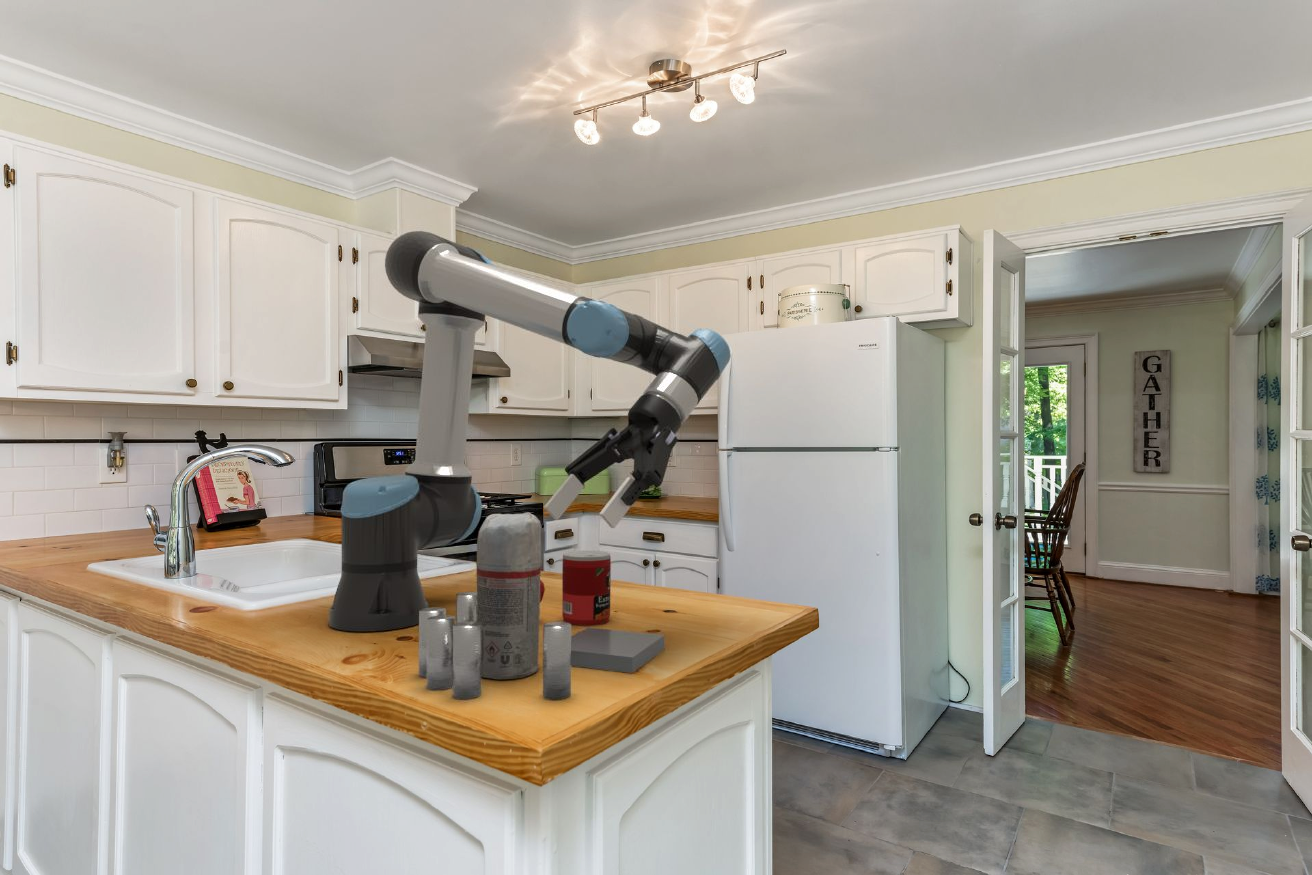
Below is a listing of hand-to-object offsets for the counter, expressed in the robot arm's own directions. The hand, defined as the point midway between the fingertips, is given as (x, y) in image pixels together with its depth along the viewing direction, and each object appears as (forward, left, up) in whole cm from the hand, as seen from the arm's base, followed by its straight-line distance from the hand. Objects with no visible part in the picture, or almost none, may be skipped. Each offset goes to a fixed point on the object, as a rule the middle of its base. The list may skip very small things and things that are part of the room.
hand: (576, 517), depth 101 cm
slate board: (+4, +2, -19) cm, 20 cm away
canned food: (-8, +20, -19) cm, 29 cm away
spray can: (-5, -9, -19) cm, 22 cm away
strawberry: (-17, +15, -19) cm, 30 cm away
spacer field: (-5, -10, -19) cm, 22 cm away
